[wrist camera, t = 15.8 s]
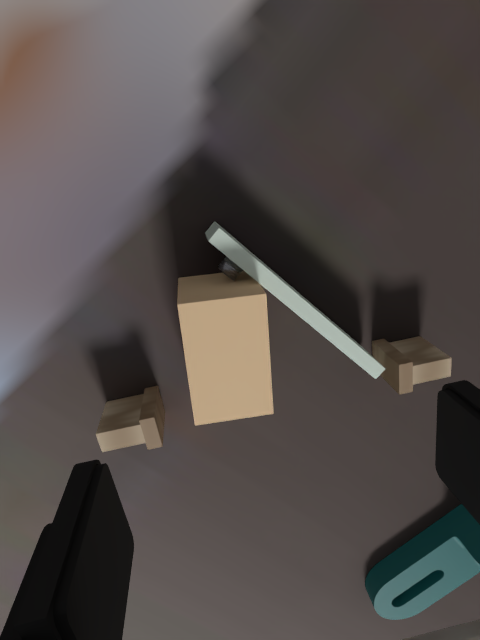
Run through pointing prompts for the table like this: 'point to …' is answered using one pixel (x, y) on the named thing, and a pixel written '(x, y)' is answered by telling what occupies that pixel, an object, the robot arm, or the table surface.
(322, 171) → the table surface
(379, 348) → the oak fence
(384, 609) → the bracket
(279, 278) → the sage gate
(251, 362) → the block
